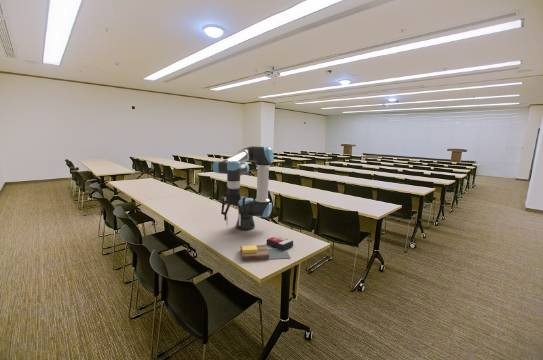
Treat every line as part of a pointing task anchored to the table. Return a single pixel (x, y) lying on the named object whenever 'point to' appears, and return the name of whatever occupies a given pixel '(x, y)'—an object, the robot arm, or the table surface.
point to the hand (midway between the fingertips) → (233, 225)
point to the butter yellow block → (249, 249)
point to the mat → (278, 254)
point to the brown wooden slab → (256, 254)
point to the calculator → (280, 242)
